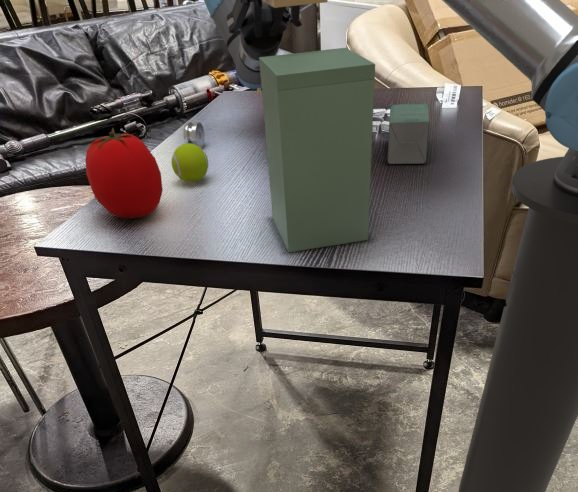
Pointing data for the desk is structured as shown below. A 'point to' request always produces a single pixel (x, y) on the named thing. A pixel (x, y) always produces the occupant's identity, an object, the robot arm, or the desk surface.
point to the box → (408, 134)
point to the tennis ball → (189, 162)
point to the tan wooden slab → (291, 2)
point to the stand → (319, 145)
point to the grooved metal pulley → (194, 133)
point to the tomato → (124, 175)
